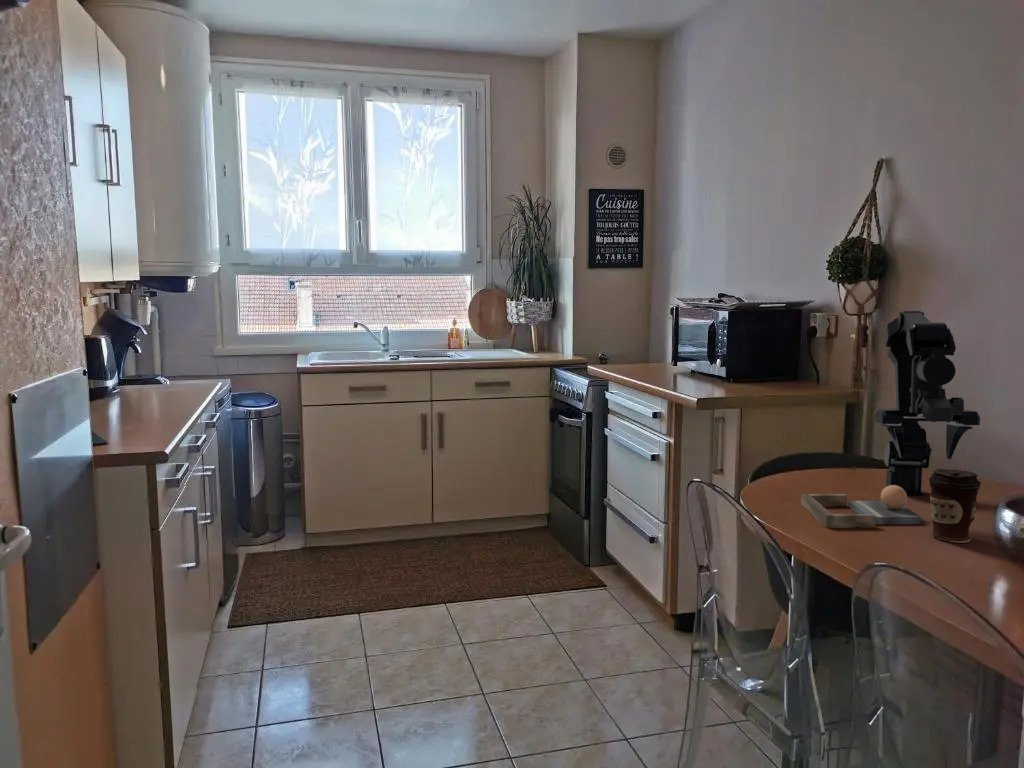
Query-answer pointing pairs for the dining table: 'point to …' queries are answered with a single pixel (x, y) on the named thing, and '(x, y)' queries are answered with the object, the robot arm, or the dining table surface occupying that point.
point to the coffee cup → (953, 503)
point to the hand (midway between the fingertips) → (925, 458)
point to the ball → (893, 497)
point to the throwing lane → (865, 510)
